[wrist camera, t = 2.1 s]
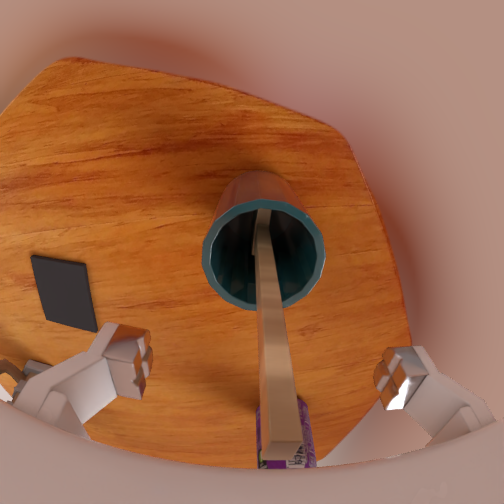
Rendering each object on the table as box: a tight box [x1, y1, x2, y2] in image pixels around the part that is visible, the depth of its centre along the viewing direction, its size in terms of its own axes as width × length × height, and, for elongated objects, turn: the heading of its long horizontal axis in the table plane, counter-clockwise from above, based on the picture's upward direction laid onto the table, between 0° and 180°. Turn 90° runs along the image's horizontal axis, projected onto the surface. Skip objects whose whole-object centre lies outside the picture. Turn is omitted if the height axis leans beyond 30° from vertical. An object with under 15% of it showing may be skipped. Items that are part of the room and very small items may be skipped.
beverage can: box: [256, 399, 317, 469], centre depth 30 cm, size 7×7×12 cm
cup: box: [202, 170, 326, 311], centre depth 20 cm, size 7×7×10 cm
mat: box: [31, 255, 98, 333], centre depth 28 cm, size 9×8×1 cm
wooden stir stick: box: [251, 208, 303, 460], centre depth 15 cm, size 3×1×20 cm, turn 173°
